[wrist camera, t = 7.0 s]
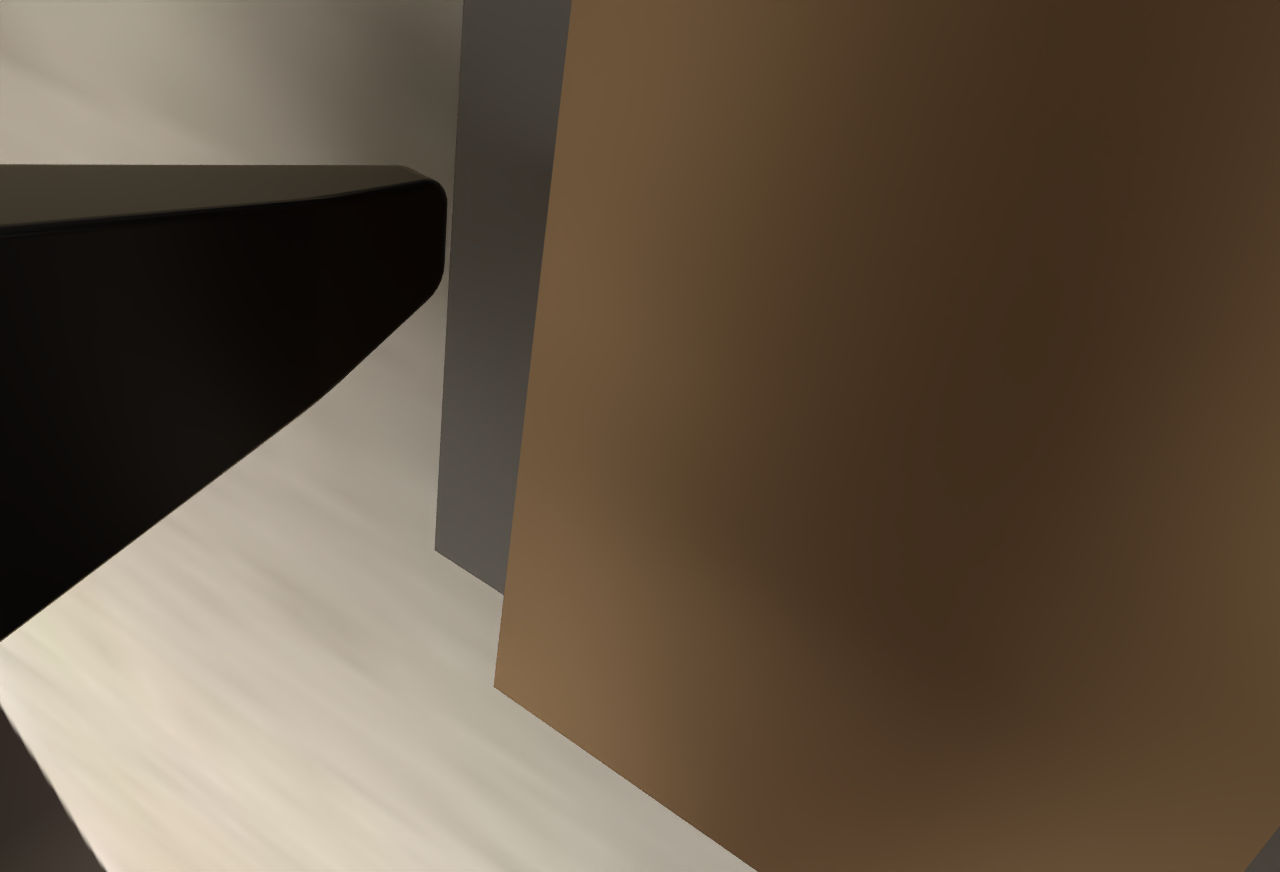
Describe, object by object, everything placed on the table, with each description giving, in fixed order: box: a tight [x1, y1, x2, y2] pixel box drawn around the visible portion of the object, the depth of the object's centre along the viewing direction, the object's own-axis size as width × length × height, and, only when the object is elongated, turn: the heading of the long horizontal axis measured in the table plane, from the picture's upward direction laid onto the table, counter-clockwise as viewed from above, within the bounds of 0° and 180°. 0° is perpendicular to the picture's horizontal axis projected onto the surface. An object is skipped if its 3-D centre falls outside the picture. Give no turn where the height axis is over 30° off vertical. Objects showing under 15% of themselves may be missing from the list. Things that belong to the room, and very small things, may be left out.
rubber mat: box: [435, 0, 1280, 872], centre depth 10 cm, size 12×12×1 cm
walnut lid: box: [494, 0, 1280, 872], centre depth 9 cm, size 6×10×2 cm, turn 171°
